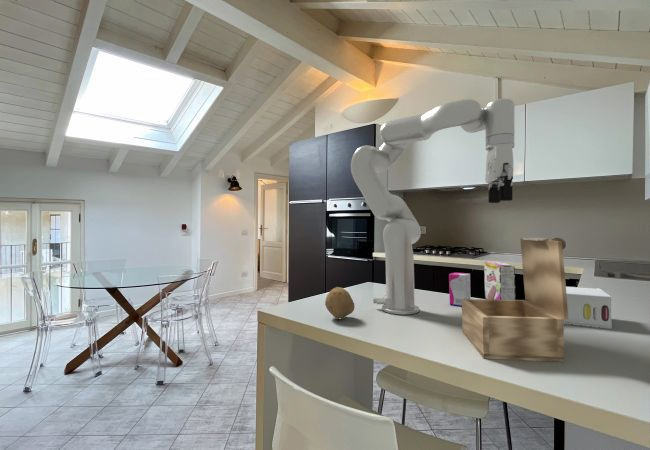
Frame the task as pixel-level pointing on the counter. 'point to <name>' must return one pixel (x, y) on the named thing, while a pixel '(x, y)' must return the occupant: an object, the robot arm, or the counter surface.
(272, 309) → the counter surface
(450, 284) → the supplement box
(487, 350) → the wooden box
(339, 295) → the brown potato
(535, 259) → the wooden box lid
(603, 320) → the supplement box
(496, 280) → the candy bar box
